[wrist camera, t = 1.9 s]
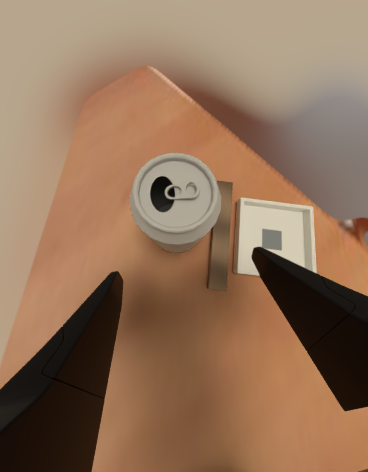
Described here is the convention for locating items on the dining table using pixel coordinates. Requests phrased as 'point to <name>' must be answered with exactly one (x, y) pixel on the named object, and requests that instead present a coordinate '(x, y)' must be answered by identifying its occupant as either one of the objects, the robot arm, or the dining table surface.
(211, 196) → the can
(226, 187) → the strip
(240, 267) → the tray
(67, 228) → the dining table surface
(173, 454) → the dining table surface
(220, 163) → the dining table surface
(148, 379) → the dining table surface
